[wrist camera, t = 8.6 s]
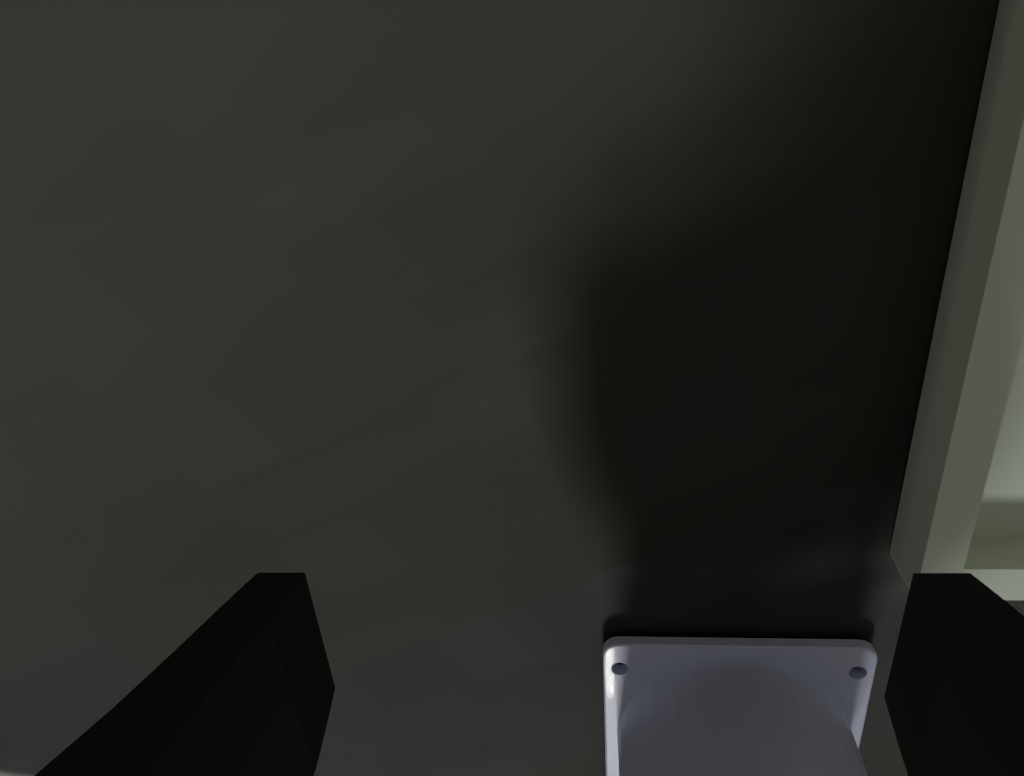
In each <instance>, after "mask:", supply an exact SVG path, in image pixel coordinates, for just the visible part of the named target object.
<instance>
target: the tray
mask: <svg viewBox="0 0 1024 776" xmlns="http://www.w3.org/2000/svg"><path fill="white" fill-rule="evenodd" d="M889 554H890V556H891V558H892V560H893V562H894V563H895V565H896V567H897V569H898V571H899V572H900V574H901V576H902V578H903V580H904V581H905V583H906V585H907V587H908V589H909V590H910V585H911V581H912V577H913V573H971V574H972V575H973V576H974V577H976V578H977V579H978V580H980V581H981V582H982V583H983V584H985V585H986V586H987V587H989V588H990V589H991V590H992V591H994V592H995V593H996V594H997V595H999V596H1000V597H1001V598H1002V599H1003V600H1024V0H1000V1H999V6H998V11H997V16H996V21H995V26H994V31H993V36H992V41H991V46H990V51H989V56H988V61H987V66H986V71H985V76H984V81H983V86H982V91H981V96H980V101H979V106H978V111H977V116H976V121H975V126H974V131H973V136H972V141H971V146H970V151H969V156H968V161H967V166H966V171H965V176H964V181H963V186H962V191H961V196H960V201H959V207H958V212H957V217H956V222H955V227H954V232H953V237H952V242H951V247H950V252H949V257H948V262H947V267H946V272H945V277H944V282H943V287H942V292H941V297H940V302H939V307H938V312H937V317H936V322H935V327H934V332H933V337H932V342H931V347H930V352H929V357H928V362H927V367H926V372H925V377H924V382H923V387H922V392H921V397H920V402H919V407H918V412H917V417H916V422H915V427H914V432H913V437H912V442H911V447H910V452H909V457H908V462H907V467H906V472H905V477H904V482H903V487H902V492H901V497H900V502H899V507H898V512H897V517H896V522H895V527H894V532H893V537H892V542H891V547H890V552H889Z"/></svg>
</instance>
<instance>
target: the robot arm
mask: <svg viewBox="0 0 1024 776" xmlns="http://www.w3.org/2000/svg"><path fill="white" fill-rule="evenodd" d="M615 663H624V664H623V665H617V664H615ZM876 664H877V654H876V652H875V650H874V648H873V646H872V645H871V644H870V643H869V642H867V641H865V640H859V639H784V638H707V637H631V636H618V637H612V638H610V639H608V640H607V641H606V642H605V643H604V646H603V674H604V718H605V763H606V776H868V774H867V771H866V769H865V766H864V763H863V760H862V758H861V755H860V752H859V746H860V741H861V736H862V731H863V726H864V721H865V717H866V712H867V707H868V702H869V697H870V692H871V688H872V683H873V678H874V673H875V668H876ZM854 667H858V668H856V669H852V668H854ZM334 690H335V686H334V682H333V678H332V674H331V671H330V667H329V663H328V659H327V655H326V652H325V648H324V644H323V640H322V637H321V633H320V629H319V625H318V621H317V618H316V614H315V610H314V606H313V603H312V599H311V595H310V591H309V587H308V584H307V580H306V576H305V573H257V574H256V575H255V576H254V577H253V578H252V579H251V580H249V581H248V582H247V583H246V584H245V585H244V586H243V587H242V588H241V589H240V590H239V591H237V592H236V593H235V594H234V595H233V596H232V597H231V598H230V599H229V600H228V601H227V602H226V603H225V604H224V605H223V606H222V607H220V608H219V609H218V610H217V611H216V612H215V613H214V614H213V615H212V616H211V617H210V618H209V619H208V620H207V621H206V622H205V623H204V624H203V625H202V626H201V627H199V628H198V629H197V630H196V631H195V632H194V633H193V634H192V635H191V636H190V637H189V638H188V639H187V640H186V641H185V642H184V643H183V644H182V645H181V646H179V647H178V648H177V649H176V650H175V651H174V652H173V653H172V654H171V655H170V656H169V657H168V658H167V659H166V660H164V661H163V662H162V663H161V664H160V665H159V666H158V667H157V668H156V669H155V670H154V671H153V672H152V673H150V674H149V675H148V676H147V677H146V678H145V679H144V680H143V681H142V682H141V683H140V684H139V685H137V686H136V687H135V688H134V689H133V690H132V691H131V692H130V693H129V694H128V695H127V696H126V697H125V698H123V699H122V700H121V701H120V702H119V703H118V704H117V705H116V706H115V707H114V708H113V709H111V710H110V711H109V712H108V713H107V714H106V715H105V716H103V717H102V718H101V719H100V720H99V721H98V722H96V723H95V724H94V725H93V726H92V727H91V728H89V729H88V730H87V731H86V732H85V733H84V734H83V735H81V736H80V737H79V738H78V739H77V740H76V741H74V742H73V743H72V744H71V745H70V746H69V747H67V748H66V749H65V750H64V751H63V752H62V753H60V754H59V755H58V756H57V757H56V758H55V759H54V760H52V761H51V762H50V763H49V764H48V765H47V766H45V767H44V768H43V769H42V770H41V771H40V772H38V773H37V774H36V775H35V776H313V775H314V773H315V770H316V766H317V762H318V758H319V754H320V750H321V746H322V742H323V738H324V734H325V730H326V725H327V721H328V717H329V712H330V708H331V703H332V699H333V695H334ZM884 698H885V701H886V704H887V708H888V711H889V714H890V718H891V721H892V725H893V728H894V731H895V735H896V738H897V741H898V745H899V748H900V751H901V754H902V757H903V760H904V763H905V767H906V770H907V773H908V776H1024V616H1023V615H1022V614H1021V613H1019V612H1018V611H1017V610H1016V609H1014V608H1013V607H1012V606H1011V605H1010V604H1008V603H1007V602H1006V601H1005V600H1003V599H1002V598H1001V597H1000V596H999V595H997V594H996V593H995V592H994V591H992V590H991V589H990V588H989V587H987V586H986V585H985V584H983V583H982V582H981V581H980V580H978V579H977V578H976V577H974V576H973V575H972V574H971V573H913V577H912V581H911V585H910V590H909V594H908V598H907V603H906V607H905V611H904V616H903V620H902V624H901V628H900V633H899V637H898V641H897V646H896V650H895V654H894V659H893V663H892V667H891V671H890V676H889V680H888V684H887V689H886V693H885V697H884Z"/></svg>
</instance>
